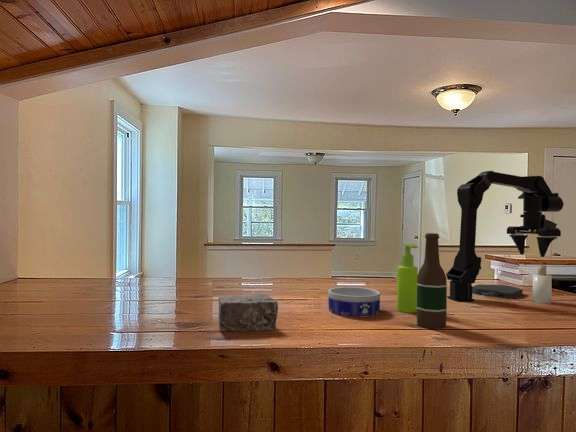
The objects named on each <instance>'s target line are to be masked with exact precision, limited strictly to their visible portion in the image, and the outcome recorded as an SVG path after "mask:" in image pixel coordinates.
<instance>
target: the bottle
mask: <svg viewBox="0 0 576 432" xmlns="http://www.w3.org/2000/svg"><path fill="white" fill-rule="evenodd" d="M552 278H553V277H552V275H551V274H547V265H546V264H538V265H537V273H533V274H532V294H531V295H532V296H531V297H532V299H531V300H532V303H536V304H543V305H546V304H547V305H548V304H549V305H550V304H552V286H553V285H552V280H553V279H552Z"/></svg>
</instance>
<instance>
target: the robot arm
mask: <svg viewBox="0 0 576 432" xmlns="http://www.w3.org/2000/svg"><path fill="white" fill-rule="evenodd" d="M492 185H498V186H502V187H503V186H504V187H510V188H514V189H516V190H517V191H519V192H521V194H519V196H518V197H517V199H518V200H519V199H520V200H523V208H522V209H523V212H522V214H520V216H519V217H520V218H522V225H520V226H514V225H512V226H508V227H507V228H506V234H507V235H508V237H511V239H512V241H513V243H514V244H515V246H516V248H517V250H518V252H519V254H520V255H524V253H525V248H526V247H525V246H526V239H527V238H528V237H529V235H528V234H531V235H538V236H537V237H536V242H537V246H538V251H539V255H540V257H541V258H544V257H545V255H546V253H547V252H548V249H549V246H550V245H551V243H552V242H553V241H554V240H557V239H558V237H561V235H562V231H561V230H560V228H558V227H557V226H558V224H557V223H556V222H554V221H551V220H548V219H546V215H545V214H543V212H544V213H546V212H548V213H558V212H561V210H563V207H564V201H563V198H562V197H560V196H559V193H558V192H552V190H551V188H550V187H549V186H548V183H547V182H546V181H545V178H544V177H543V176H542V175H527V176H521V175H515V174H514V175H513V174H509V173H504V172H496V171H493V170H486V171H482V172H480V173H479V174H478V175H476V176H475V177H473V178H472V179H470V180H468V181H467V182H466V183H463V184H460V185H459V186H458V187H457V190H456V195H457V197H456V198H457V203H458V204H459V207H460V209H461V212H460V215H461V217H460V229H459V231H460V232H459V249H458V251H457V253H456V254H455V257H454V261H453V265H452V267H451V268H450V269H449V270H448V271H447V272H446V273H445V276H446V280H448V281H449V295H447V298H448V299H450V300H453V301H456V302H472V301H475V298H473V294H474V293H473V285H472V284H475V283H476V280H477V277H478V275H479V274H480V271H481V270H482V257H481V256H478V255H477V253H476V239H477V238H476V237H477V217H478V216H477V215H478V209H479V207H480V206H481V204H482V201H483V198H484V193H486V192H487V191H488V190H489V188H491V186H492Z"/></svg>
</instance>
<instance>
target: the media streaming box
mask: <svg viewBox="0 0 576 432" xmlns="http://www.w3.org/2000/svg"><path fill="white" fill-rule="evenodd" d="M472 286H473V285H472ZM523 290H524V289H523V288H519V287H515V286H511V285H505V284H481V283H480V284H476V285H474V286H473V293H472V294H474V295H478V296H483V295H484V297H491V298H499V299H508V300H509V299H511V300H512V299H516V298H519V297H522V296H523Z"/></svg>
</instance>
